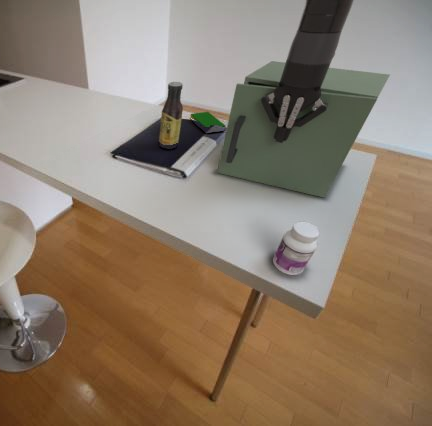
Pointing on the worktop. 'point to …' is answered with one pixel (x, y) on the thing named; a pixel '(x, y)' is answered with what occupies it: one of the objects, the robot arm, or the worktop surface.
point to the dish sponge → (206, 119)
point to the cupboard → (326, 80)
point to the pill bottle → (296, 248)
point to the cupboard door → (291, 141)
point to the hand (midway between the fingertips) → (279, 141)
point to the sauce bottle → (171, 115)
